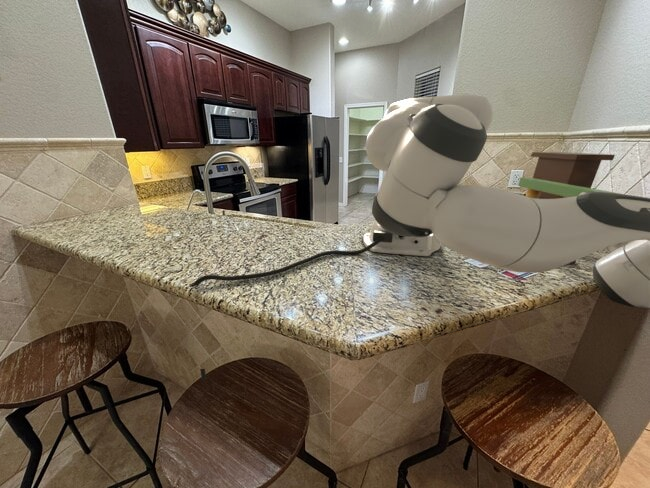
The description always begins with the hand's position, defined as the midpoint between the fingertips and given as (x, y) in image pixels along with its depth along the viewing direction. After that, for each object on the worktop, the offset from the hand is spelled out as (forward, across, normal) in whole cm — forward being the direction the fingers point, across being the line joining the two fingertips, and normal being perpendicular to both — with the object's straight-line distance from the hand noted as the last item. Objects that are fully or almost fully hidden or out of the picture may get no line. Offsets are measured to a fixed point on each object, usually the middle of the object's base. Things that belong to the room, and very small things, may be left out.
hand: (595, 194), depth 58 cm
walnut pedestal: (+10, +11, -27) cm, 31 cm away
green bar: (+7, 0, -6) cm, 9 cm away
